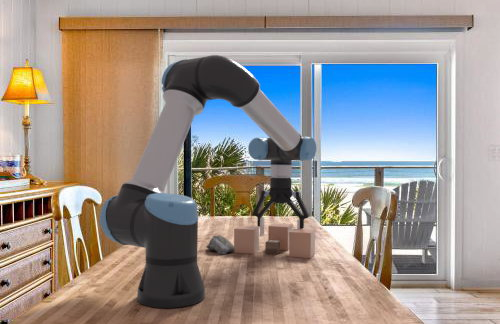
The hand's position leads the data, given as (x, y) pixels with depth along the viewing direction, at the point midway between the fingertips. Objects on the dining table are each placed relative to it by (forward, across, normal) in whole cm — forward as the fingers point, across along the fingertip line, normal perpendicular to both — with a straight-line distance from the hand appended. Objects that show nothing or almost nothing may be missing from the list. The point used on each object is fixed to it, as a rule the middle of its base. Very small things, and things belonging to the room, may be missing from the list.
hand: (280, 237), depth 166 cm
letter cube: (+4, 0, +10) cm, 10 cm away
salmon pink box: (+4, -10, +10) cm, 15 cm away
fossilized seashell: (+4, +18, +12) cm, 22 cm away
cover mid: (+4, 0, 0) cm, 4 cm away
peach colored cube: (+4, +9, +10) cm, 14 cm away
